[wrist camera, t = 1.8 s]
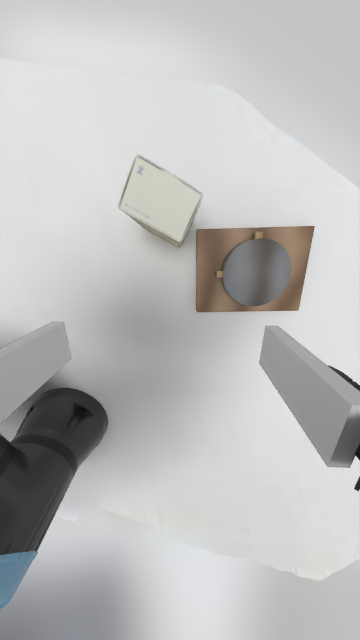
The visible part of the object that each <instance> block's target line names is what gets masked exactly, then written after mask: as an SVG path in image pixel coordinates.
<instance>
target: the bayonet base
mask: <svg viewBox="0 0 360 640" xmlns="http://www.w3.org/2000/svg"><path fill="white" fill-rule="evenodd" d="M314 227H315V226H303V227H267V228H232V229H197V298H196V310H197V312H236V311H295V310H299V305H300V299H301V294H302V289H303V284H304V279H305V273H306V268H307V263H308V258H309V253H310V248H311V242H312V237H313V232H314Z"/></svg>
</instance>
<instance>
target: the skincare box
mask: <svg viewBox="0 0 360 640" xmlns="http://www.w3.org/2000/svg"><path fill="white" fill-rule="evenodd" d="M202 198H203V193H202V192H200V191H199V190H197V189H196V188H194V187H192V186H191V185H189V184H188V183H186V182H185V181H183V180H181V179H180V178H178V177H177V176H175V175H174V174H172V173H170V172H168V171H167V170H165V169H163V168H162V167H160V166H158V165H156V164H155V163H153V162H151V161H150V160H148V159H146V158H144V157H143V156H141V155H139V154H136V155H135V158H134V161H133V163H132V166H131V169H130V171H129V174H128V177H127V180H126V183H125V186H124V189H123V192H122V195H121V198H120V202H119V204H118V208H119V209H120V210H122V211H123V212H125V213H126V214H127V215H129V216H130V217H131V218H132V219H134V220H135V221H136V222H137V223H138V224H140V225H141V226H142V227H143V228H145V229H147V230H148V231H150V232H152V233H154V234H155V235H157V236H159V237H161V238H162V239H164V240H166V241H168V242H170V243H171V244H173V245H175V246H177V247H179V248H180V247H181V245H182V243H183V241H184V239H185V237H186V235H187V233H188V231H189V229H190V227H191V224H192V222H193V220H194V217H195V215H196V213H197V210H198V208H199V205H200V203H201V201H202Z"/></svg>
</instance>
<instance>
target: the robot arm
mask: <svg viewBox="0 0 360 640" xmlns="http://www.w3.org/2000/svg"><path fill="white" fill-rule="evenodd" d="M71 359H72V357H71V353H70V348H69V343H68V339H67V334H66V330H65V325H64V322H51V323H49V324H47V325H45V326H43V327H41V328H39V329H37V330H35V331H33V332H31V333H29V334H27V335H25V336H24V337H22V338H20V339H18V340H16V341H14V342H12V343H10V344H8V345H6V346H4V347H2V348H0V424H1V423H2V422H3V421H4V420H5V419H6V418H7V417H8V416H9V415H11V414H12V413H13V412H14V411H15V410H16V409H17V408H18V407H19V406H20V405H21V404H23V403H24V402H25V401H26V400H27V399H28V398H29V397H30V396H31V395H32V394H33V393H35V392H36V391H37V390H38V389H39V388H40V387H41V386H42V385H43V384H44V383H45V382H47V381H48V380H49V379H50V378H51V377H52V376H53V375H54V374H55V373H56V372H57V371H59V370H60V369H61V368H62V367H63V366H64V365H65V364H66V363H67V362H68V361H69V360H71ZM259 364H260V365H261V367H262V368H263V370H264V371H265V373H266V374H267V376H268V377H269V379H270V380H271V382H272V383H273V385H274V386H275V388H276V389H277V391H278V392H279V394H280V395H281V397H282V399H283V400H284V402H285V403H286V405H287V406H288V408H289V409H290V411H291V412H292V414H293V415H294V417H295V418H296V420H297V421H298V423H299V424H300V426H301V427H302V429H303V430H304V432H305V433H306V435H307V436H308V438H309V440H310V441H311V443H312V444H313V446H314V447H315V449H316V450H317V452H318V453H319V455H320V456H321V458H322V459H323V461H324V462H325V464H326V465H327V467H343V468H350V466H351V464H352V462H353V460H354V457H355V455H356V456H357V458H358V459H359V460H360V385H358V384H357V383H356V382H353V380H352V379H351V378H349V377H348V376H347V375H345V374H344V373H343V372H341V371H339V370H337V369H335V368H333V367H331V366H327V365H326V364H325V363H323V362H322V361H321V360H320V359H318V358H317V357H316V356H315V355H314V354H312V353H311V352H310V351H309V350H307V349H306V348H305V347H304V346H302V345H301V344H300V343H299V342H297V341H296V340H295V339H294V338H292V337H291V336H290V335H289V334H287V333H286V332H285V331H284V330H282V329H281V328H280V327H279V326H265V332H264V338H263V343H262V349H261V355H260V361H259ZM106 428H107V416H106V413H105V411H104V409H103V408H102V406H101V405H100V404H99V403H98V402H97V401H96V400H95V399H93V398H92V397H90V396H89V395H87V394H85V393H83V392H80V391H77V390H73V389H54V390H51V391H48V392H46V393H44V394H43V395H42V396H41V397H40V398H39V399H38V400H37V401H36V402H35V403H34V404H33V405H32V406H31V407H30V409H29V410H28V412H27V415H26V417H25V419H24V420H23V422H22V424H21V426H20V428H19V430H18V432H17V434H16V436H15V438H14V439H13V440H12V441H11V442H9V441H8V440H6V439H5V438H4V437H3V436H2V435H1V434H0V611H1V610H2V609H3V608H4V607H5V606H6V605H7V603H8V602H9V601H10V600H11V598H12V597H13V595H14V593H15V592H16V590H17V588H18V586H19V584H20V582H21V581H22V579H23V577H24V575H25V573H26V572H27V570H28V568H29V566H30V564H31V562H32V561H33V559H34V558H35V557H36V555H37V550H38V548H39V546H40V544H41V542H42V540H43V538H44V536H45V534H46V532H47V530H48V528H49V526H50V524H51V522H52V520H53V518H54V516H55V514H56V512H57V510H58V507H59V505H60V503H61V501H62V499H63V497H64V495H65V493H66V491H67V489H68V487H69V485H70V483H71V481H72V479H73V477H74V475H75V473H76V471H77V469H78V467H79V466H80V465H81V464H82V462H83V461H84V460H85V459H86V458H87V457H88V456H89V454H90V453H91V452H92V451H93V449H94V448H95V447H96V446H97V445H98V444H99V443H100V441H101V440H102V438H103V435H104V433H105V431H106ZM354 489H355V490H357V491H359V489H360V477H359V479H358V481H357V483H356V485H355V488H354Z"/></svg>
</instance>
